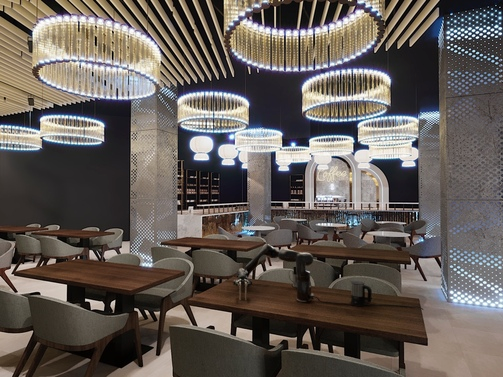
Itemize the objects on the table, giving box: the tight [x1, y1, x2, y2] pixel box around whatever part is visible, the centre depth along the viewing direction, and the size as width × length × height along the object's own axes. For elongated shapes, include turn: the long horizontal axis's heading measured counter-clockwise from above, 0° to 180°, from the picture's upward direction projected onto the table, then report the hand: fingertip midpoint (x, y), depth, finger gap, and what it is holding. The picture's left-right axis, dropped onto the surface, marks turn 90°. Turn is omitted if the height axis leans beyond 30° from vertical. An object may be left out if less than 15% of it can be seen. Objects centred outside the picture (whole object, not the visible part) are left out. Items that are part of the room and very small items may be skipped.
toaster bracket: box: [238, 282, 248, 301], centre depth 231 cm, size 10×8×13 cm
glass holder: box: [288, 266, 297, 288], centre depth 269 cm, size 9×14×15 cm, turn 124°
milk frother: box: [350, 280, 373, 307], centre depth 228 cm, size 14×16×15 cm
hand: (242, 284), depth 245 cm, fingers open, 8 cm apart
